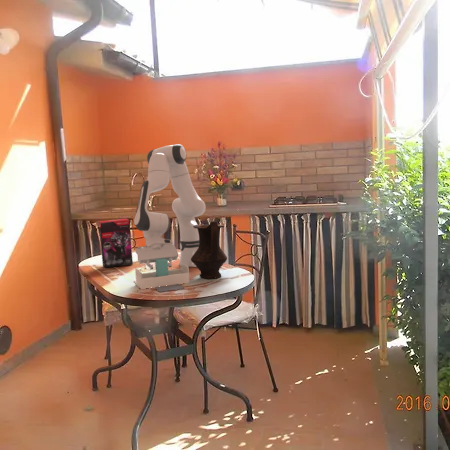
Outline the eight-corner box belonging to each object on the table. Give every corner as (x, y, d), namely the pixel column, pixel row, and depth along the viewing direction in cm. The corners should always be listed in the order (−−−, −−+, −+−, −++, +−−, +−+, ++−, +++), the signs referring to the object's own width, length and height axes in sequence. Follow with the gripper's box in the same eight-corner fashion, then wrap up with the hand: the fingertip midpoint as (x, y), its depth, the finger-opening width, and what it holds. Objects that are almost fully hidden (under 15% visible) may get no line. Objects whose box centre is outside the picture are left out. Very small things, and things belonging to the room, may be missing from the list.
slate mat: (178, 284, 245) (178, 283, 245) (184, 288, 237) (184, 287, 236) (154, 288, 240) (154, 287, 240) (159, 292, 232) (159, 291, 232)
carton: (178, 275, 265) (178, 260, 263) (189, 282, 248) (188, 266, 247) (133, 281, 256) (132, 266, 255) (141, 289, 239) (140, 273, 238)
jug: (187, 275, 264) (184, 218, 260) (220, 271, 270) (217, 215, 266) (199, 284, 244) (196, 223, 240) (235, 279, 251) (232, 219, 247)
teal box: (166, 281, 252) (164, 258, 251) (169, 283, 248) (167, 260, 246) (156, 283, 250) (155, 259, 249) (159, 285, 246) (157, 261, 244)
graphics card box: (104, 268, 290) (100, 222, 287) (101, 266, 296) (98, 220, 293) (133, 265, 298) (130, 219, 294) (130, 263, 304) (126, 218, 300)
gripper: (135, 243, 250) (140, 266, 242) (175, 239, 257) (181, 261, 250) (134, 251, 254) (139, 273, 247) (173, 247, 262) (179, 269, 254)
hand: (161, 267), depth 248 cm, fingers open, 8 cm apart
